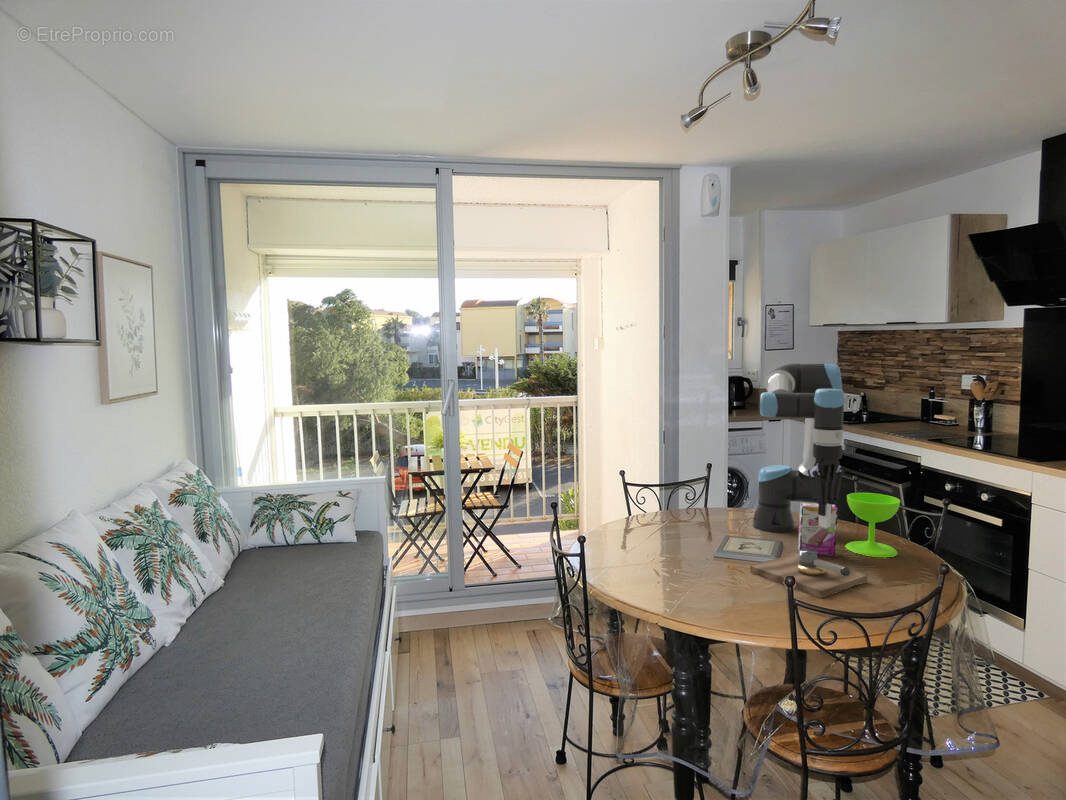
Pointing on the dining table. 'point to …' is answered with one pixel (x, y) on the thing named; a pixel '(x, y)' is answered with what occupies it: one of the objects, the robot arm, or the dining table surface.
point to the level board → (806, 576)
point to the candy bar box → (816, 530)
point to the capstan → (817, 564)
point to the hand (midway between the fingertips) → (824, 526)
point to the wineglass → (872, 521)
